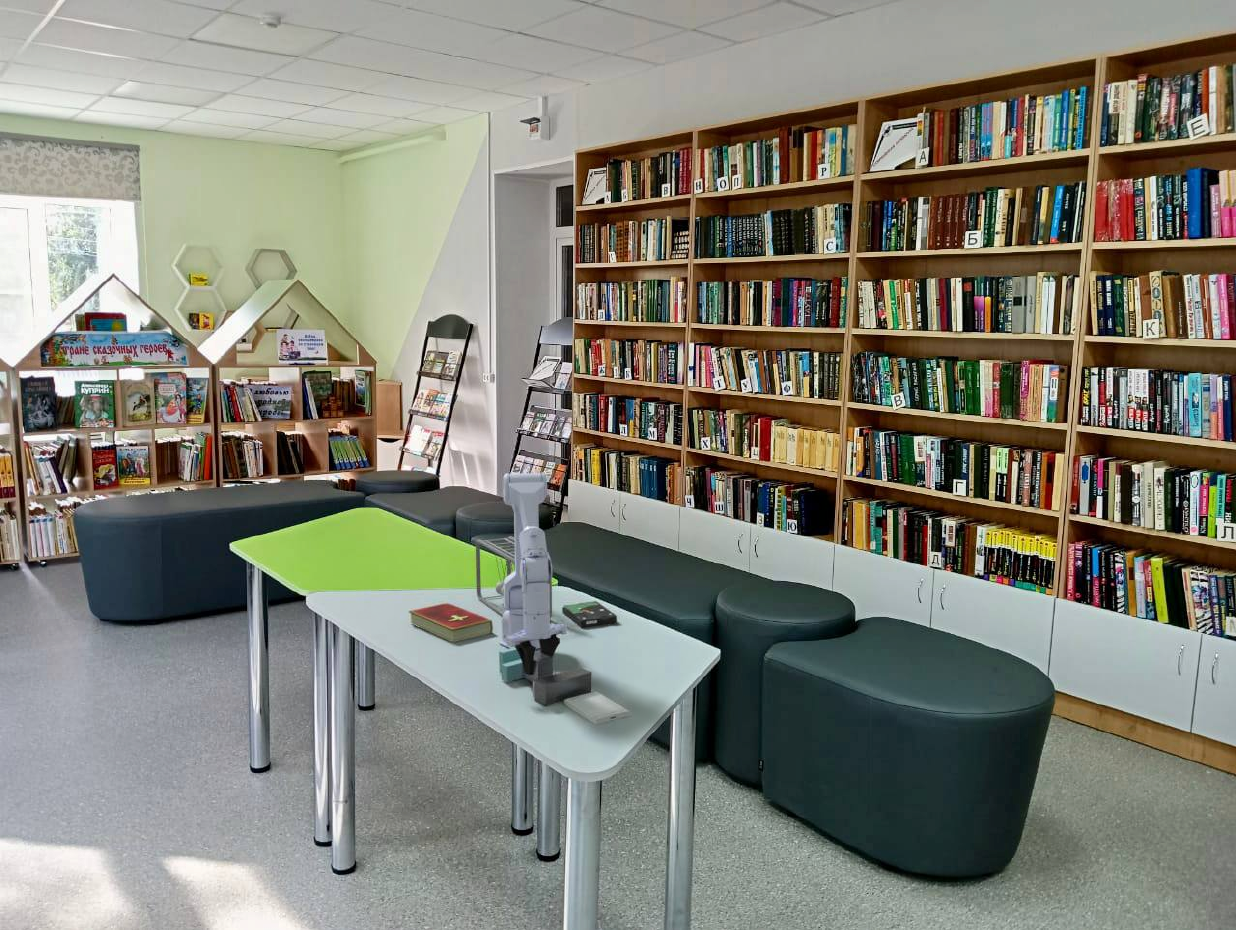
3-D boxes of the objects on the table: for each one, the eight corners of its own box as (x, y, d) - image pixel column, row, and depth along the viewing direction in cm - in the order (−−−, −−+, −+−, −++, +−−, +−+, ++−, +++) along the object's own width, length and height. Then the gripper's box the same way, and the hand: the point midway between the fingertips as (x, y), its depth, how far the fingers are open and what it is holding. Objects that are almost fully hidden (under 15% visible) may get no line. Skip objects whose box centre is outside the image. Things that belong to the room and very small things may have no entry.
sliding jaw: (492, 674, 217) (491, 653, 216) (529, 664, 223) (528, 643, 223) (506, 682, 212) (506, 660, 212) (544, 671, 219) (543, 650, 218)
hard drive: (563, 699, 201) (595, 719, 191) (597, 690, 205) (630, 709, 195) (563, 706, 201) (595, 727, 191) (597, 698, 206) (630, 717, 195)
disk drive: (617, 625, 255) (596, 610, 269) (618, 615, 255) (596, 600, 268) (581, 630, 251) (561, 614, 264) (581, 620, 251) (561, 604, 264)
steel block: (522, 676, 213) (521, 654, 212) (537, 672, 215) (536, 650, 215) (538, 683, 208) (537, 661, 208) (553, 679, 211) (552, 657, 210)
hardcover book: (448, 616, 263) (448, 601, 262) (492, 634, 247) (492, 618, 247) (409, 625, 255) (408, 609, 254) (452, 644, 239) (452, 628, 239)
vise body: (529, 697, 204) (528, 677, 204) (574, 684, 212) (574, 664, 211) (545, 706, 200) (545, 685, 199) (591, 692, 207) (591, 672, 207)
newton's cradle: (476, 598, 278) (475, 538, 276) (510, 594, 283) (509, 534, 280) (516, 627, 252) (515, 560, 249) (552, 621, 257) (552, 556, 254)
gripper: (519, 622, 202) (520, 684, 204) (574, 609, 211) (574, 669, 213) (500, 614, 208) (501, 675, 209) (555, 602, 217) (555, 660, 219)
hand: (537, 671), depth 212 cm, fingers closed on steel block, 4 cm apart
